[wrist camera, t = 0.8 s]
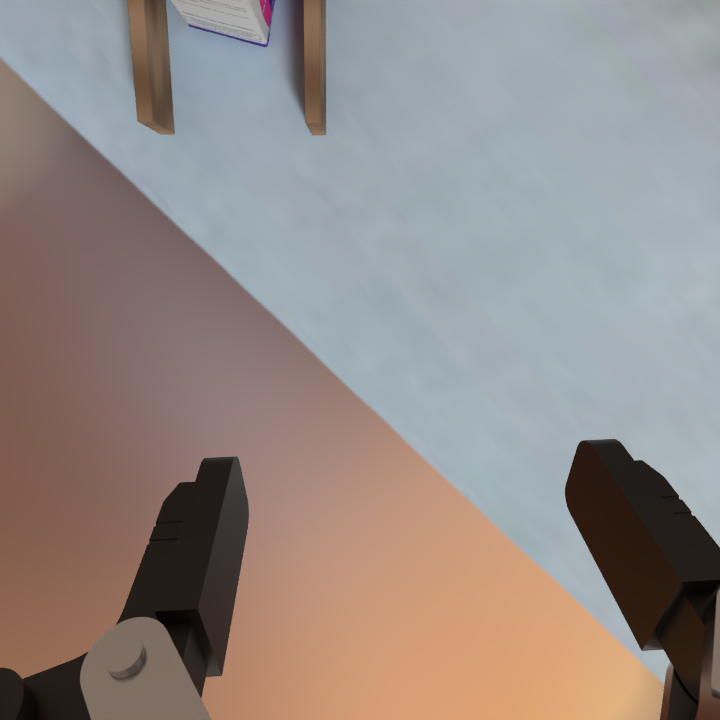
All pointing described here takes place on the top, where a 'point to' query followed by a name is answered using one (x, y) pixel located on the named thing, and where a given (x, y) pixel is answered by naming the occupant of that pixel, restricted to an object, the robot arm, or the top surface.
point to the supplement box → (230, 18)
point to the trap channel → (156, 75)
